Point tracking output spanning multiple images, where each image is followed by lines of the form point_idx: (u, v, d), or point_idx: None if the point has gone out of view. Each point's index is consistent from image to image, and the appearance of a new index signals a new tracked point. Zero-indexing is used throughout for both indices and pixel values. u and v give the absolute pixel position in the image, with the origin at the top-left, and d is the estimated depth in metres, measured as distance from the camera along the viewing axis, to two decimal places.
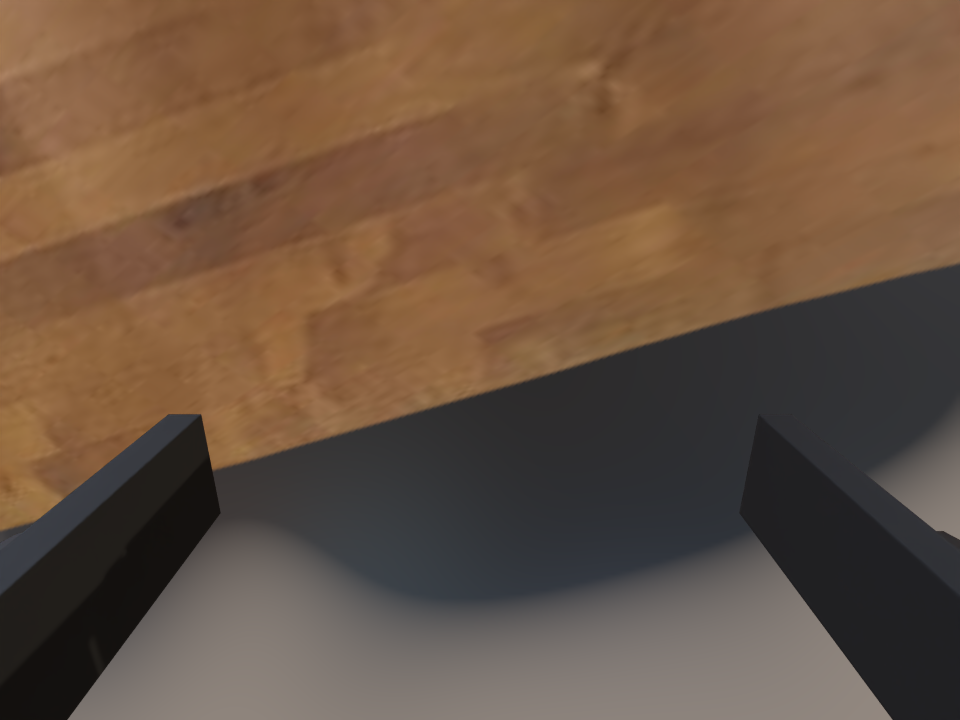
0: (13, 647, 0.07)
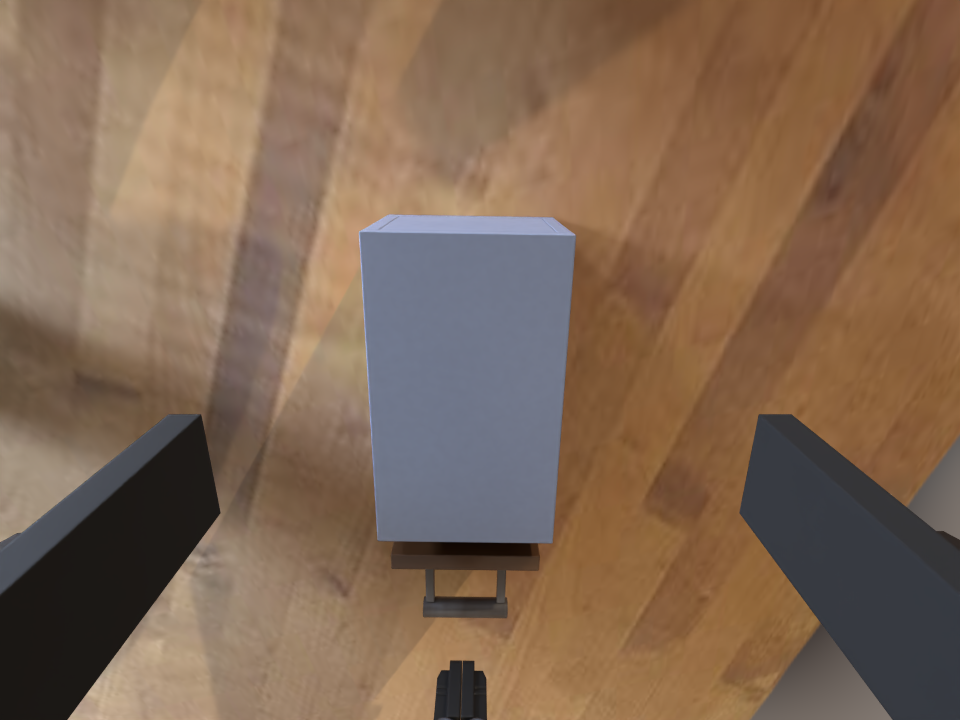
0: (13, 647, 0.07)
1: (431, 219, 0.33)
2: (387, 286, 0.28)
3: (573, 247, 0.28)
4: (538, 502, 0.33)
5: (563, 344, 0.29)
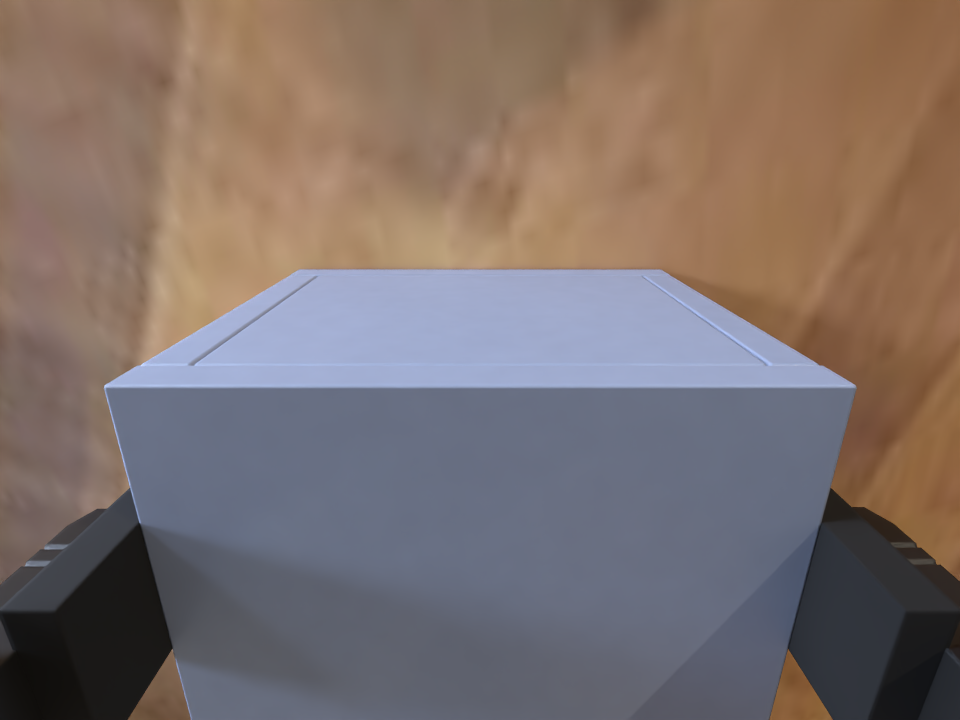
0: (115, 607, 0.08)
1: (387, 288, 0.14)
2: (224, 544, 0.09)
3: (842, 424, 0.08)
4: None
5: (767, 680, 0.10)
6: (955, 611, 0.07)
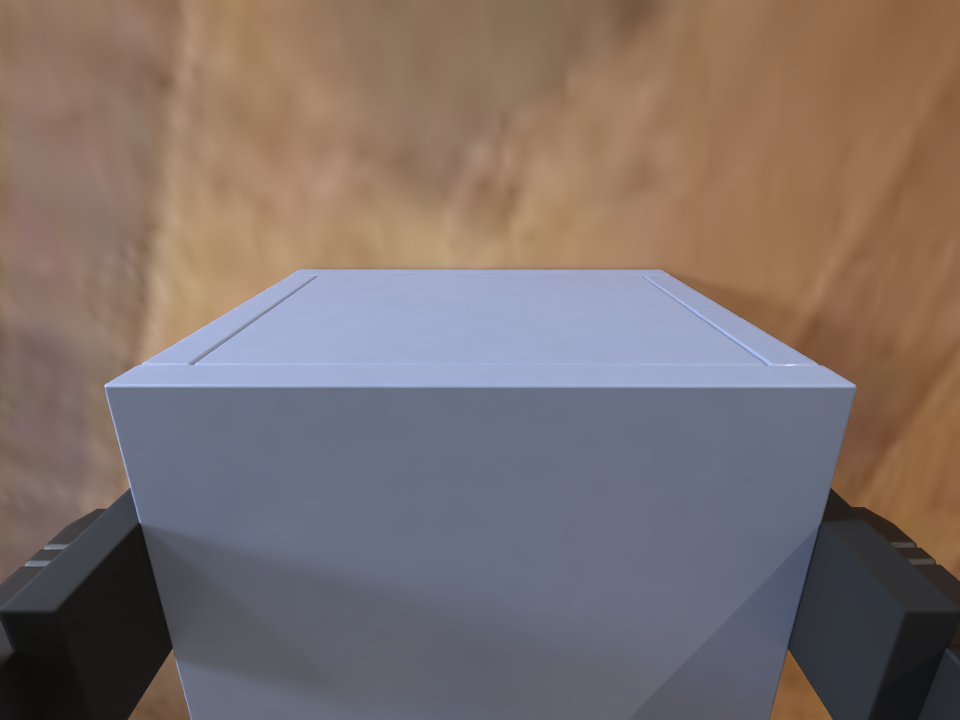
0: (115, 607, 0.08)
1: (387, 288, 0.14)
2: (224, 543, 0.09)
3: (842, 424, 0.08)
4: None
5: (767, 680, 0.10)
6: (955, 611, 0.07)
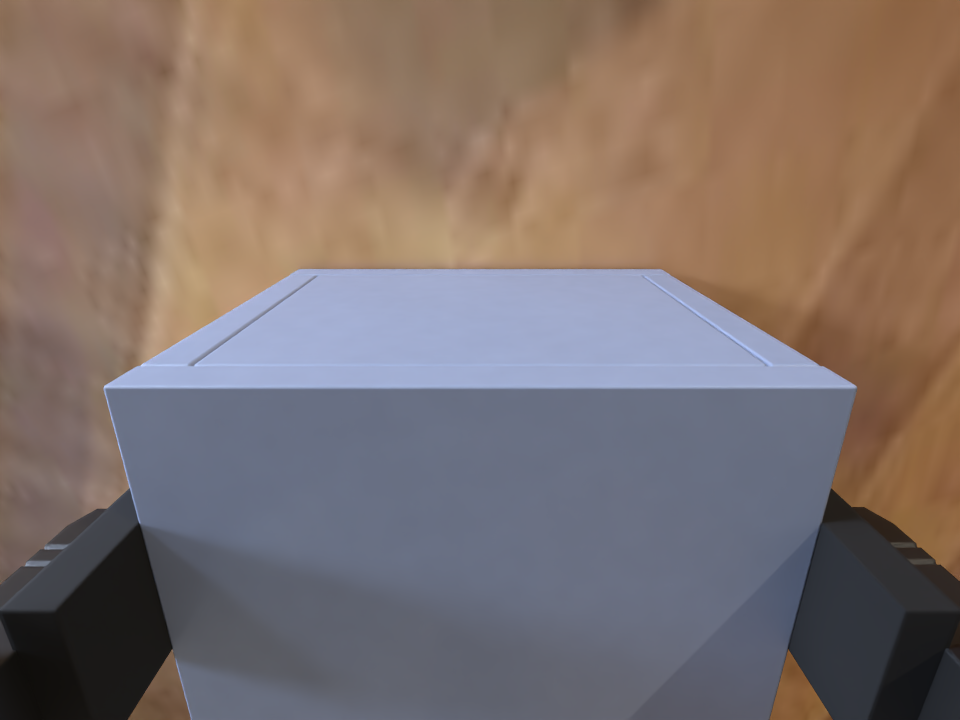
0: (114, 607, 0.08)
1: (387, 288, 0.14)
2: (224, 545, 0.09)
3: (843, 425, 0.08)
4: None
5: (767, 680, 0.10)
6: (955, 611, 0.07)
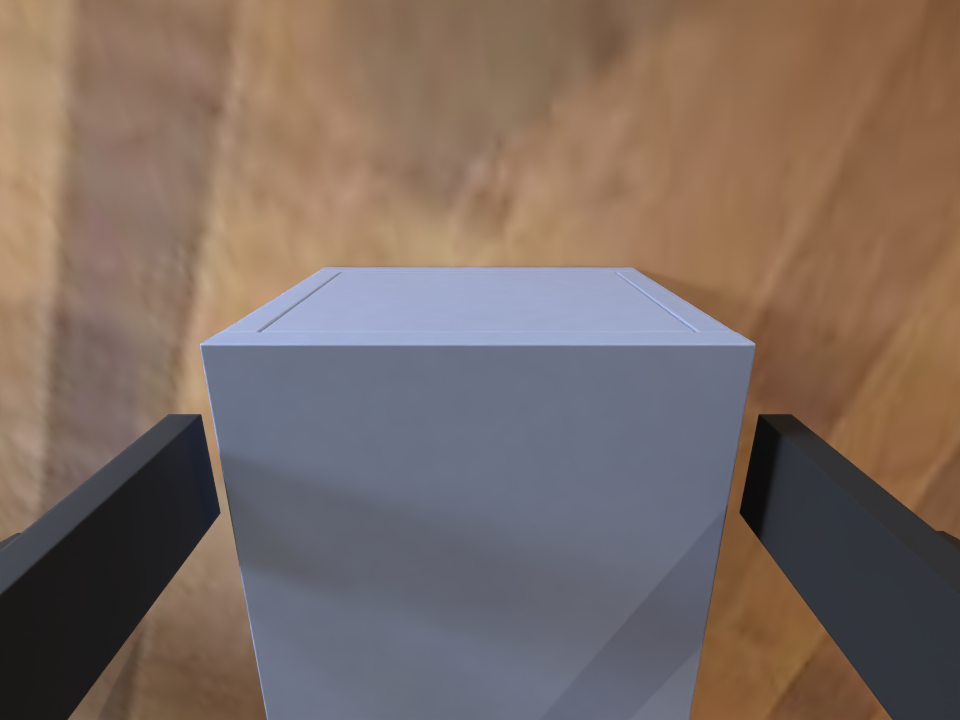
0: (13, 647, 0.07)
1: (401, 281, 0.17)
2: (283, 469, 0.12)
3: (747, 373, 0.11)
4: None
5: (704, 583, 0.13)
6: None
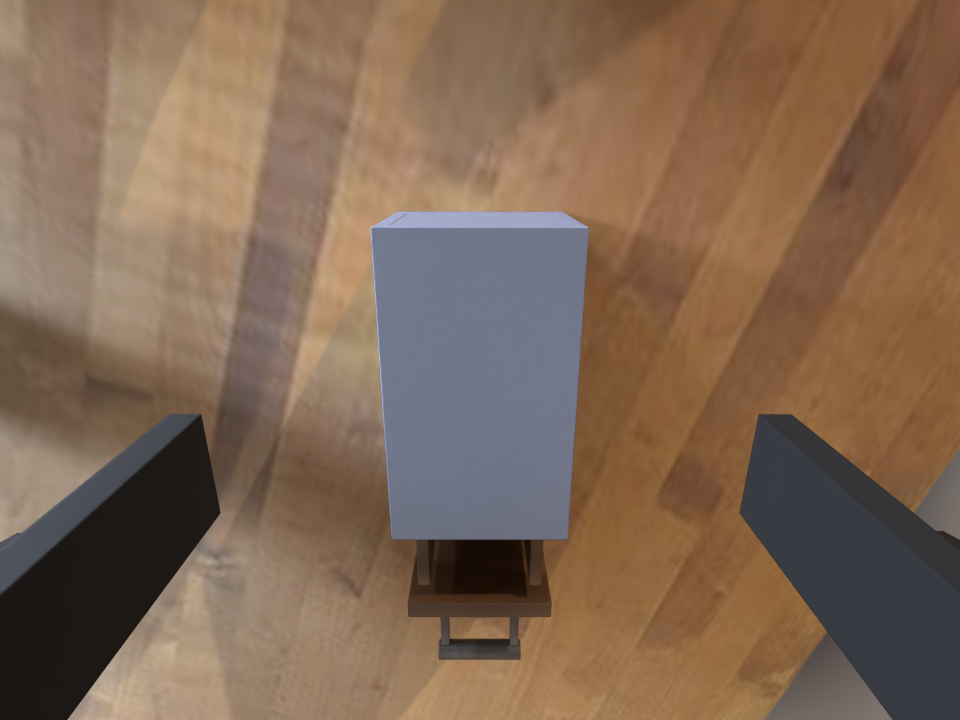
0: (13, 647, 0.07)
1: (441, 215, 0.33)
2: (399, 282, 0.28)
3: (586, 240, 0.27)
4: (553, 498, 0.33)
5: (577, 338, 0.29)
6: None
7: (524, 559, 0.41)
